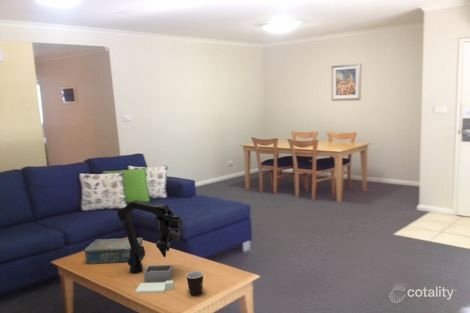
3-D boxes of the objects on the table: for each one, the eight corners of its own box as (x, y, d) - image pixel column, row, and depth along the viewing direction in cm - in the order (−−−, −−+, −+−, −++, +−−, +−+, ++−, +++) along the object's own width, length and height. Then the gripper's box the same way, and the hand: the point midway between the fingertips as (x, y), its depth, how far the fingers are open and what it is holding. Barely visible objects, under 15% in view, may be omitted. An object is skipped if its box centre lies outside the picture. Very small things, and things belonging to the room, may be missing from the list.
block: (149, 280, 236) (148, 273, 236) (151, 277, 240) (150, 270, 240) (156, 279, 236) (156, 273, 236) (158, 276, 240) (157, 270, 239)
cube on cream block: (135, 295, 221) (135, 286, 221) (140, 286, 231) (140, 279, 230) (171, 294, 220) (171, 285, 219) (175, 285, 229) (174, 278, 229)
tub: (144, 283, 234) (143, 272, 233) (148, 276, 243) (147, 265, 242) (170, 282, 233) (169, 271, 232) (173, 275, 242) (172, 265, 241)
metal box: (96, 253, 288) (95, 238, 286) (144, 251, 287) (142, 236, 285) (84, 265, 267) (83, 250, 265) (135, 263, 266) (134, 247, 264)
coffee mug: (197, 298, 213) (196, 279, 212) (184, 295, 217) (182, 276, 216) (211, 289, 223) (209, 270, 221) (197, 286, 227) (196, 268, 226)
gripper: (175, 232, 229) (177, 259, 231) (181, 221, 248) (183, 247, 250) (154, 232, 230) (157, 260, 232) (162, 222, 248) (164, 248, 250)
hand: (166, 253), depth 241 cm, fingers open, 9 cm apart
